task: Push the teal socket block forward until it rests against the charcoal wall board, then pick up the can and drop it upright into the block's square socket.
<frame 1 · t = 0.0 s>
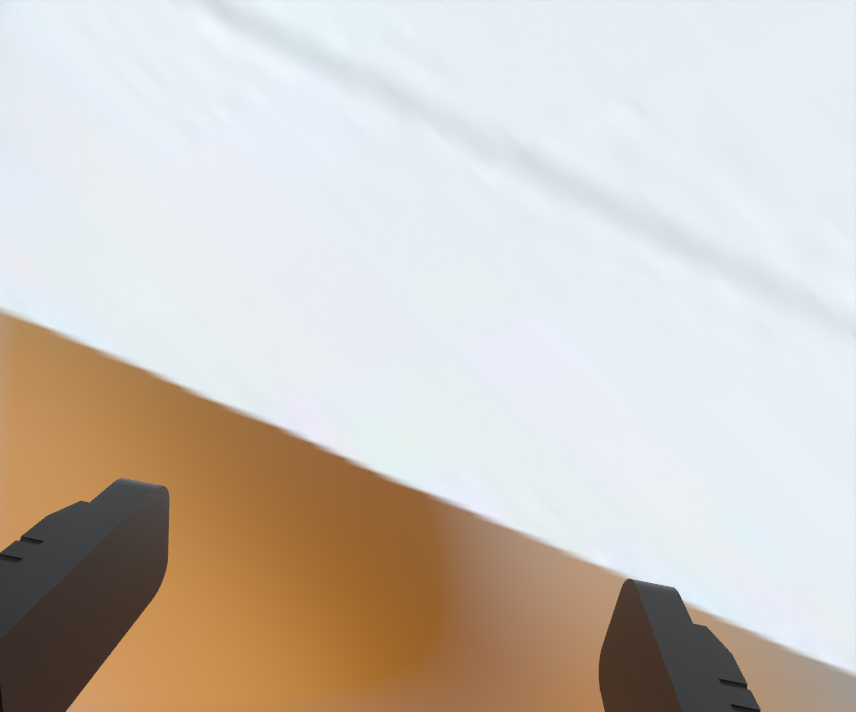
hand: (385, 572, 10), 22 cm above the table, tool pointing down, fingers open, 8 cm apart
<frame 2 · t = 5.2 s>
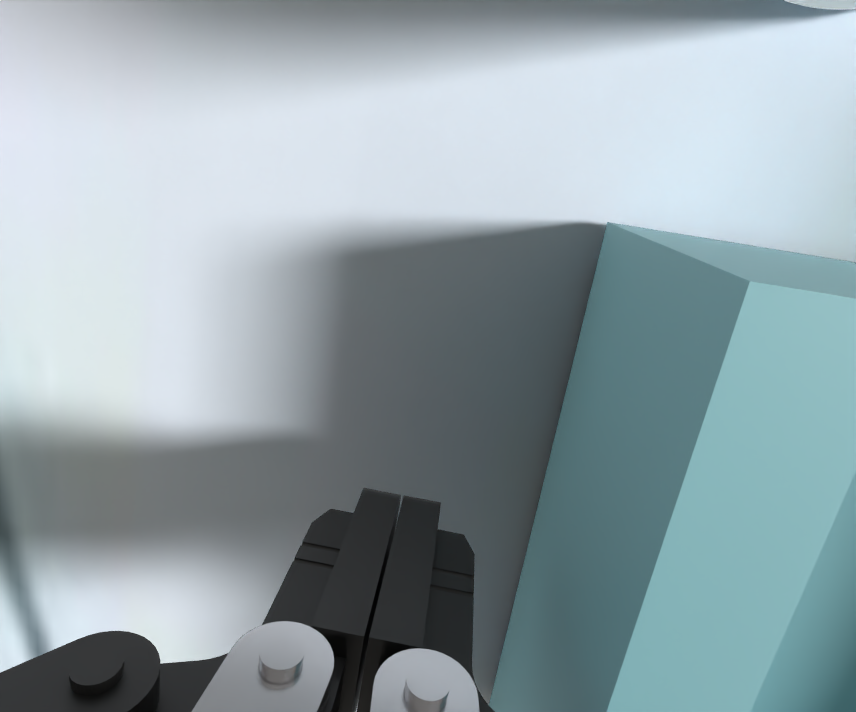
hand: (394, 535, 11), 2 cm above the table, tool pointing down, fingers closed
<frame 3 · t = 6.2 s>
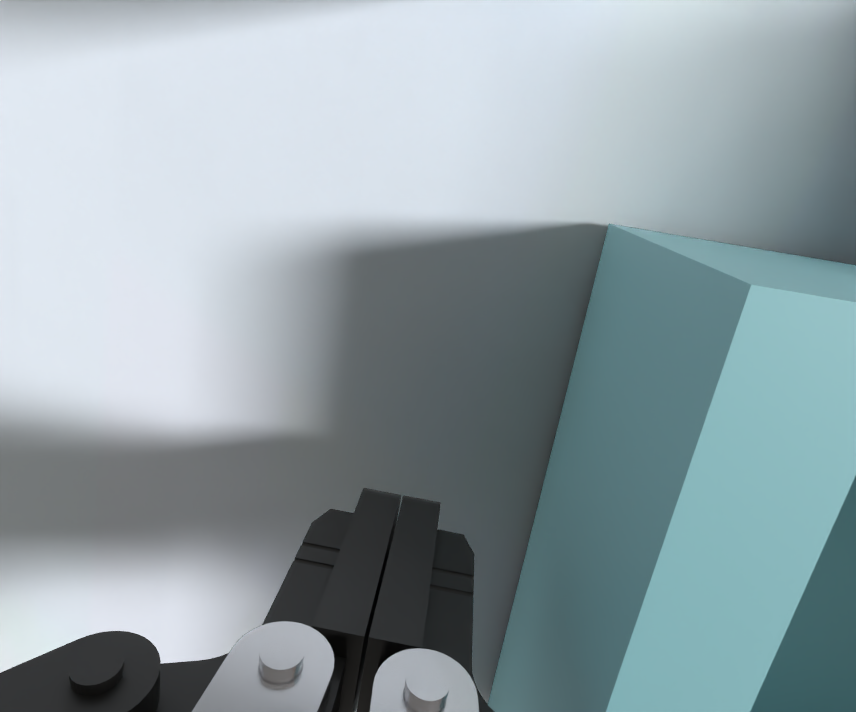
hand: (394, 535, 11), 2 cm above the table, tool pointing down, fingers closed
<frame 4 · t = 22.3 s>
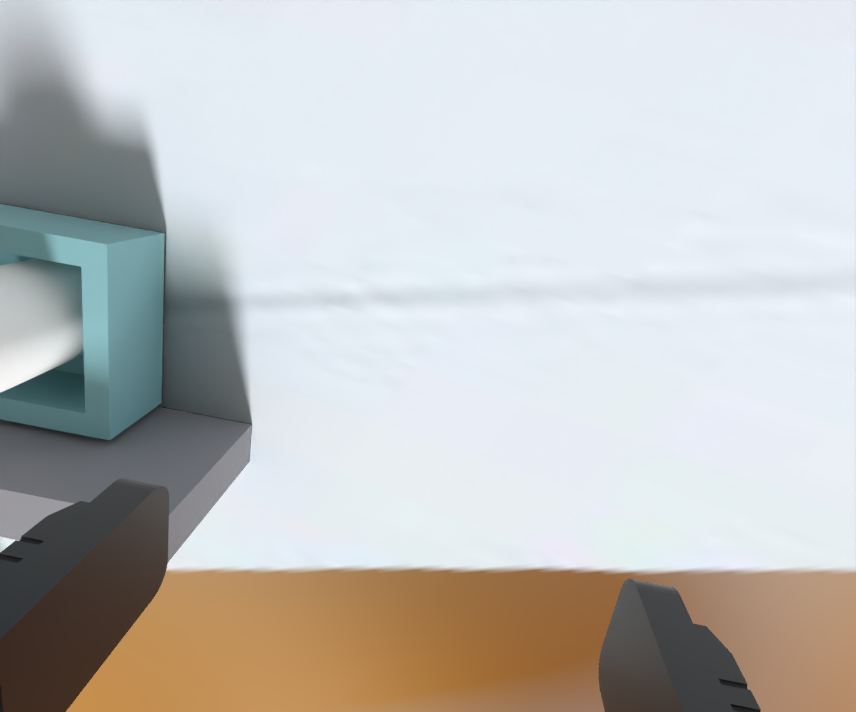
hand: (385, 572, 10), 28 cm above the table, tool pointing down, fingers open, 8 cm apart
socket block: (45, 316, 36), point 3 cm above the table, slide at 5.2 cm, touching can
can: (77, 302, 38), point 1 cm above the table, touching socket block
wall board: (130, 420, 42), on the table
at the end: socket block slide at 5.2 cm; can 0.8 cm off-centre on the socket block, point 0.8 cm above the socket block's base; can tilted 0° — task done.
